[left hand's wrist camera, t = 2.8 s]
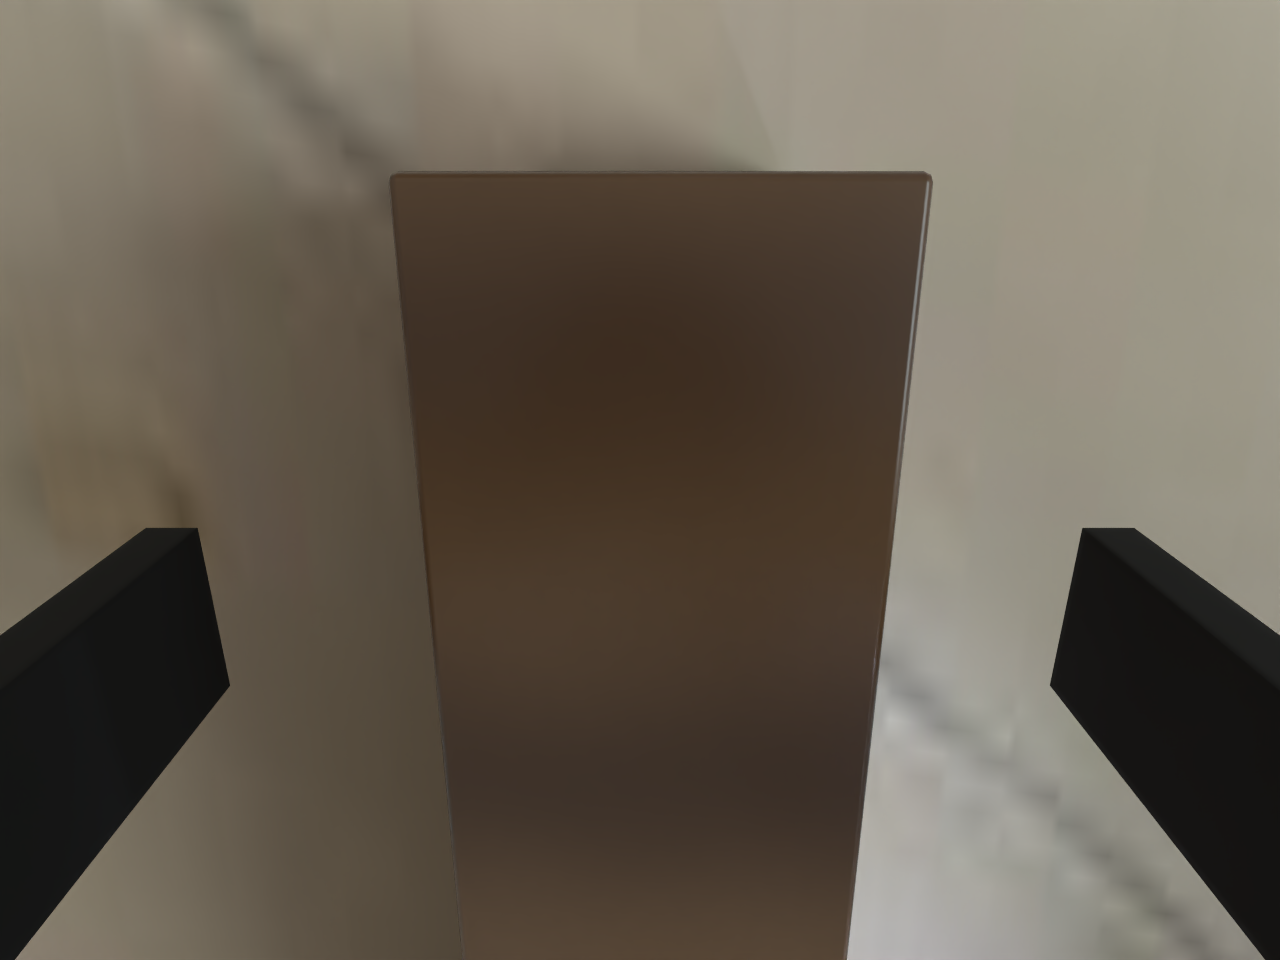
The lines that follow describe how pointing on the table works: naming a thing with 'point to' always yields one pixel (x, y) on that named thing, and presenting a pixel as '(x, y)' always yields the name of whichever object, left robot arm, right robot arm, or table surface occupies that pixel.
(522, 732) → the post
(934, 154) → the table surface
